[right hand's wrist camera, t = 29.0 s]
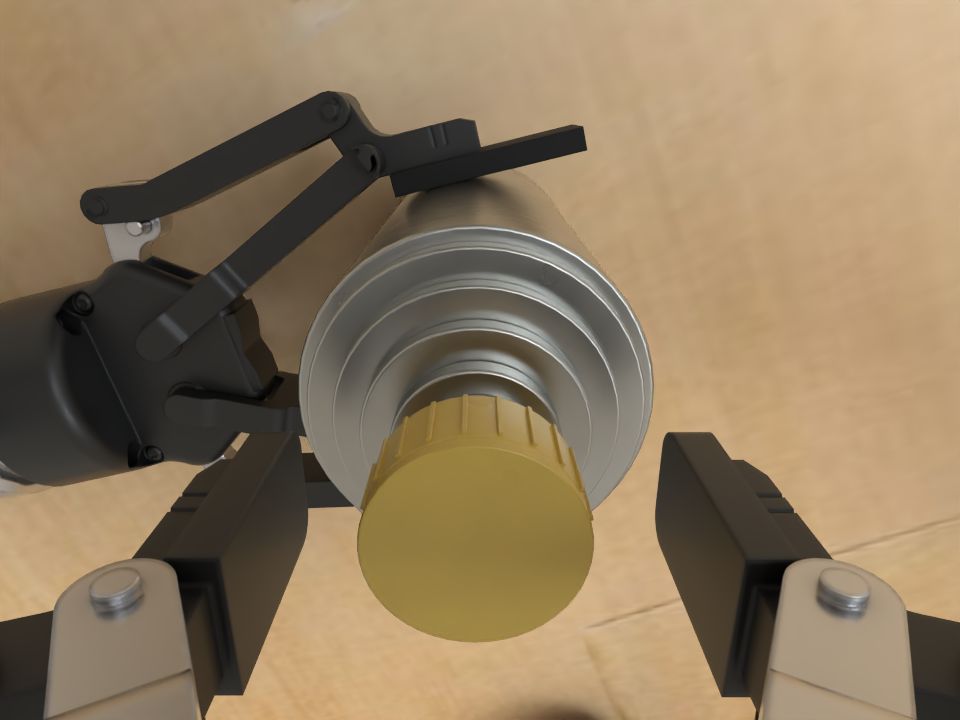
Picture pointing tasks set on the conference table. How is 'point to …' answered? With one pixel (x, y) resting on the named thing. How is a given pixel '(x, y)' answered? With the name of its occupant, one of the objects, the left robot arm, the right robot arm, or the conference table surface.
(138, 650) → the right robot arm
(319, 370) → the bottle
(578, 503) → the cap
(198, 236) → the conference table surface
